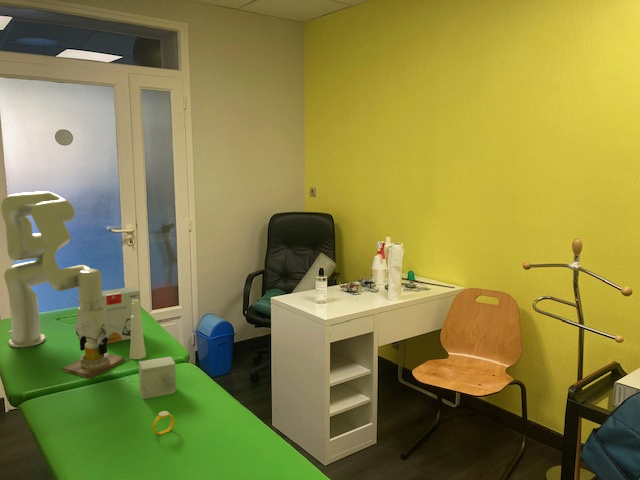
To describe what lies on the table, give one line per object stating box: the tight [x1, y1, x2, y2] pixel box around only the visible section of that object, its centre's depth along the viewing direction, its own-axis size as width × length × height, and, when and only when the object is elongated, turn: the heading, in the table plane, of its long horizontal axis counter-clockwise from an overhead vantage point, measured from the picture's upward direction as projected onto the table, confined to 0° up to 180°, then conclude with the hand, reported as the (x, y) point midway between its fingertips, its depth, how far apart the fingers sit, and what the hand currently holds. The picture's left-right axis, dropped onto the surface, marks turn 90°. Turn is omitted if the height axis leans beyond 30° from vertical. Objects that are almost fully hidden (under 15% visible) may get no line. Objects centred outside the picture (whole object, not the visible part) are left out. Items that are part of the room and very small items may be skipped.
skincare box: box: [138, 356, 177, 400], centre depth 169 cm, size 10×6×10 cm, turn 117°
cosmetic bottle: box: [129, 299, 147, 360], centre depth 195 cm, size 6×6×22 cm
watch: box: [152, 410, 176, 436], centre depth 147 cm, size 6×3×6 cm, turn 133°
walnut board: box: [62, 352, 126, 379], centre depth 188 cm, size 13×16×4 cm
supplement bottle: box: [84, 337, 102, 360], centre depth 187 cm, size 5×5×10 cm
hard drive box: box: [101, 286, 142, 344], centre depth 212 cm, size 16×8×20 cm, turn 129°
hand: (93, 351), depth 187 cm, fingers open, 8 cm apart
